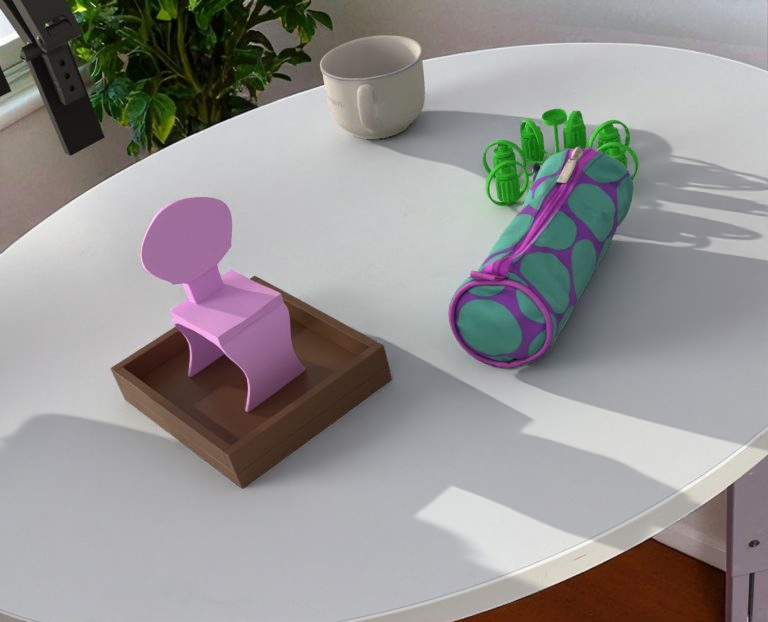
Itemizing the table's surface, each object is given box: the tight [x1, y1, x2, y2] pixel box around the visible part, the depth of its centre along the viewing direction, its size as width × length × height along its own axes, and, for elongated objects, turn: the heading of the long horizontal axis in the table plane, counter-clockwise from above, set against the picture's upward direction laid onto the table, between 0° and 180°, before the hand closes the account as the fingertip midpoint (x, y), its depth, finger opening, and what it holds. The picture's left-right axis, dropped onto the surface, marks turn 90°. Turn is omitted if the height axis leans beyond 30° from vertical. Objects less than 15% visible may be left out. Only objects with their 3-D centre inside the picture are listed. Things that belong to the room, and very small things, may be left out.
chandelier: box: [482, 108, 640, 207], centre depth 100 cm, size 15×15×7 cm
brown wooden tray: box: [110, 275, 393, 490], centre depth 88 cm, size 18×16×4 cm
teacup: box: [319, 34, 426, 140], centre depth 113 cm, size 14×11×8 cm
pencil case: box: [448, 147, 634, 370], centre depth 86 cm, size 21×9×10 cm, turn 154°
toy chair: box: [140, 196, 306, 412], centre depth 83 cm, size 8×9×15 cm
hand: (37, 121), depth 74 cm, fingers open, 13 cm apart
